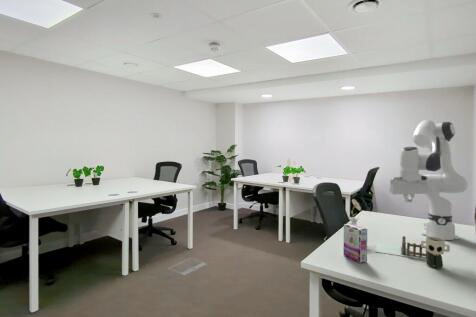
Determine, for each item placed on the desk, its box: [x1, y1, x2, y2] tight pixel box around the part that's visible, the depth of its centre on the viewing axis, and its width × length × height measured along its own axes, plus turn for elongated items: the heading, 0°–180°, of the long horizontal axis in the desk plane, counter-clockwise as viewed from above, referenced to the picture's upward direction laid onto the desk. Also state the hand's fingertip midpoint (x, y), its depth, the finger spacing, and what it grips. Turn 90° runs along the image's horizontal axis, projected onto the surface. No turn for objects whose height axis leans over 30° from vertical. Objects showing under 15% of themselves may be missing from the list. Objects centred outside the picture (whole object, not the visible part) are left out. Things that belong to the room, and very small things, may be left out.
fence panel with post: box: [401, 240, 429, 258], centre depth 138 cm, size 2×12×7 cm, turn 62°
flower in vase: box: [342, 198, 362, 239], centre depth 161 cm, size 13×11×25 cm
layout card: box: [375, 242, 427, 261], centre depth 145 cm, size 15×25×1 cm, turn 62°
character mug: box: [420, 236, 451, 269], centre depth 126 cm, size 11×7×13 cm, turn 57°
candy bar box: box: [343, 223, 368, 264], centre depth 135 cm, size 11×5×16 cm, turn 21°
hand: (408, 202), depth 148 cm, fingers closed
